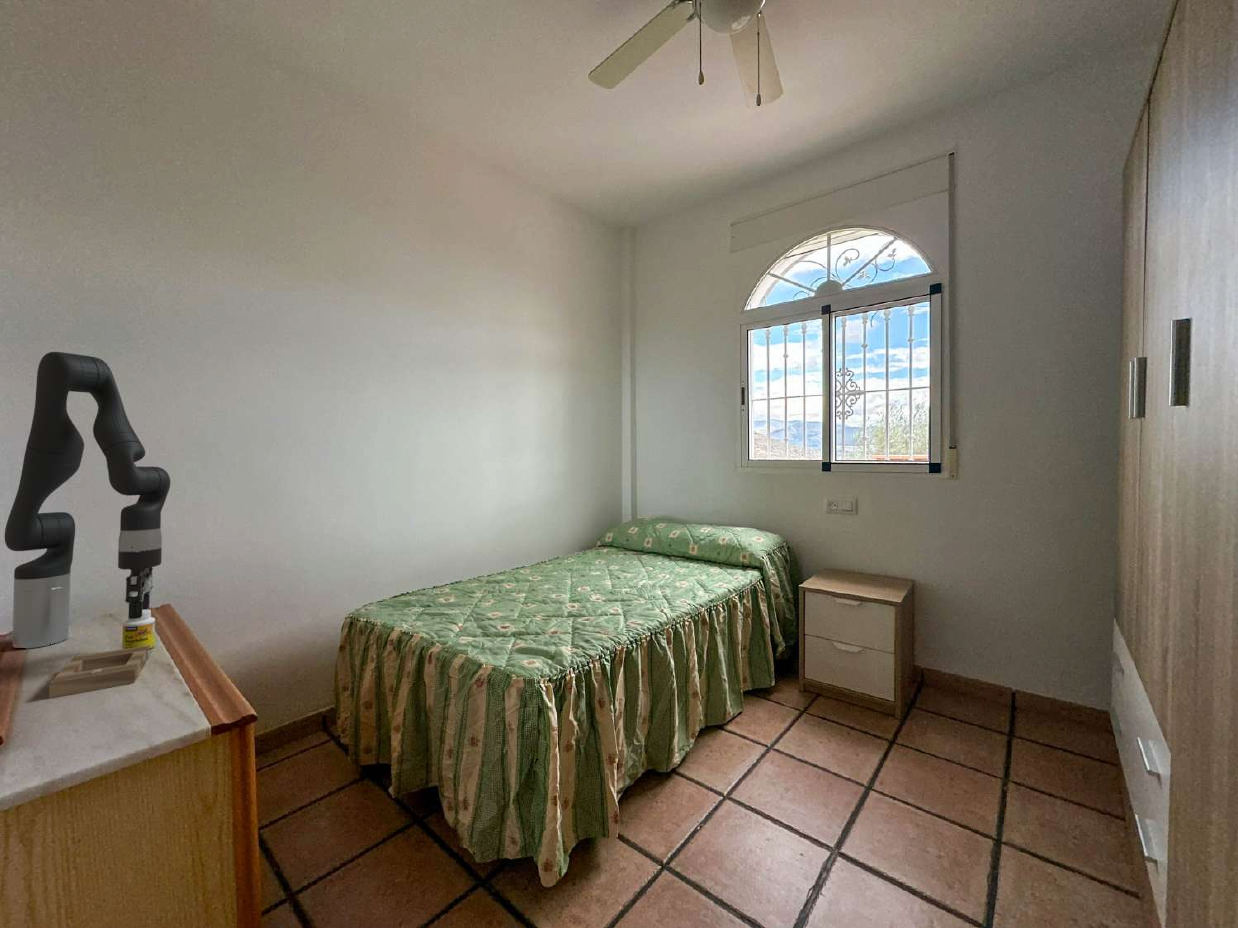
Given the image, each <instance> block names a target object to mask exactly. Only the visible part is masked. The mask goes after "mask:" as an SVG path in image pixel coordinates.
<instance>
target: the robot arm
mask: <svg viewBox="0 0 1238 928" xmlns="http://www.w3.org/2000/svg"><path fill="white" fill-rule="evenodd" d="M36 372H37V373H36V384H35V385H36V386H35V387H36V388H35V399H34V400H35V401H34V409H33V417H32V421H31V425H30V426H31V428H30V432H29V435H28V439H27V442H26V448H25V451H24V452H25V453H24V457H23V462H22V469H21V474H20V479H19V485H18V488H17V492H16V495H15V498H14V501H13V504H12V506H11V509H10V512H9V515H8V518H7V521H6V525H5V528H4V544H5V546H6V547H7V549H8V550H10V551H13V552H27V551H38V550H46V551H45V552H44V553H43V554H41V555H40V556H38V557H36V558H35V559H33V560H30V561H28V562H25V563H22V564H19V565H17V566H16V567H15V568H14V572H13V599H12V600H13V607H12V608H13V610H12V633H11V634H12V635H11V636H12V637H11V638H12V640H11V644H12V643H14V644H19V645H23V646H24V647H26V649H34V648H40V647H46V646H50V644H51V645H55V644H58V643H61V642H64V641H66V640H68V639H69V631H70V630H69V629H70V627H69V626H70V605H71V604H70V603H71V602H70V601H71V600H70V599H71V568H72V564H73V559H74V545H75V537H76V522H75V519H74V517H73V515H72V514H71V513H68V512H65V511H64V512H63V511H62V512H61V511H56V512H54V511H53V512H40V509H41V508H42V505H43V504H44V502H45V501H46V499H48V497H50V495H51V494H52V493H54V492H55V491H56V490H57V489H59V488H60V487H61V486H62V485H63V484H65V483H66V482H67V481H69V479H71V478H72V477H73V476H74V475H75V474H76V473H77V471H78V470H79V468H80V466H81V462H82V459H83V455H84V450H85V449H84V448H85V442H84V439H83V437H82V435H81V433H80V432H79V430H78V428H77V427H76V425H75V424H74V423H73V421H72V419H71V418H70V415H69V414H68V410H67V409H68V407H67V406H68V405H67V404H68V403H67V401H68V396H69V393H70V392H74V393H75V392H76V393H88V394H90V395H91V397H92V398H93V399H94V401H95V402H96V404H97V413H96V416H95V418H94V419H95V420H94V422H93V425H92V434H93V438H94V439H95V442H96V444H97V445H98V447H99V449H100V450H101V452H102V453H103V456H104V457H105V460H106V468H107V472H108V473H107V474H108V480H109V484H110V486H111V487H112V489H113V490H114V491H116V493H119V494H120V495H122V496H130V497H131V496H139V497H138V498H137V500H136V502H135V503H134V504H130V505H126V506H125V507H123V508H121V511H120V518H119V519H120V525H119V527H120V528H119V529H120V530H119V537H118V547H117V549H118V553H117V567H118V569H119V570H124V571H126V570H130V574H129V576H126V578H125V582H126V584H125V585H126V586H125V598H124V599H125V601H124V602H125V603H127V604H128V613H129V619H136V618H140V617H142V610H146V609H148V610H149V608H150V596H151V595H150V594H151V593H152V589H153V587H154V586H153V577H154V575H153V574H154V573H153V570H154V569H153V568H154V567H158V566H160V565H161V564H162V558H163V557H162V555H163V554H162V550H163V549H162V547H163V546H162V545H163V544H162V542H163V538H162V535H163V534H162V529H161V526H162V525H161V523H162V521H161V520H162V519H161V517H162V514H161V513H162V509H163V507H164V505H165V503H166V499H167V497H168V494H169V491H170V488H171V478H170V475H169V473H168V472H167V471H166V470H165V469H164V468H162V467H160V466H137V465H136V462H139V461H141V460H142V459H143V458H144V457H146V449H145V448H144V446H143V444H142V442H141V440H140V439H139V437H138V435H137V434H136V432H135V431H134V428H133V427H132V425H131V422H130V420H129V418H128V415H127V413H126V410H125V407H124V404H123V401H122V398H121V395H120V391H119V388H118V385H117V382H116V379H115V377H114V375H113V372H112V370H111V368H110V367H109V364H108V363H107V362H105V361H104V360H103V359H101V358H99V357H95V356H91V355H83V354H79V353H70V352H69V353H68V352H62V351H50V352H48V353H46V354H44V355H43V356H42V358H41V359H40V361H39V363H38V368H37V371H36ZM133 595H135V596H133ZM67 638H68V639H67ZM65 639H66V640H65ZM63 640H64V641H63ZM54 643H55V644H54Z"/></svg>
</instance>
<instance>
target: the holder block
mask: <svg viewBox="0 0 1238 928" xmlns="http://www.w3.org/2000/svg"><path fill="white" fill-rule="evenodd" d="M149 657H150V653H149V645H147V646H141V647H134V648H127V649H115V650H108V651H103V652H95V653H87V654H83V655H82V654H81V655H76V656H74V657H73V658H71V660H70V661H69V662H68V663H67V664H66V665H65V667H63V668H62V669H61V671H60V672H58V673H57V674H56V675H55V677H53V678H52V680H51V681H50V682H49V686H48V687H49V688H48V689H49V690H48V691H49V692H48V699H53V698H59V697H64V696H70V695H76V694H80V693H87V692H92V691H97V690H104V689H109V688H113V687H119V686H120V687H121V686H125V685H130V684H135V682H136V681H137V680H138V677H140V674H141V672H142V670H143V668H144V667H145V665H146V663H147V661H148V660H149Z"/></svg>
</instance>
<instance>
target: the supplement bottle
mask: <svg viewBox="0 0 1238 928" xmlns="http://www.w3.org/2000/svg"><path fill="white" fill-rule="evenodd" d="M155 629H156V618H155V617H154V616H153V617H152V611H151V609H149V608H148V609H145V610H142V617H140V618H136V619H129V612H128V614H127V620H125V621H124V622H123V624H122V647H121V648H122V649H127V648H134V647H141V646H147V645H149V654H150V653H152V652H153V651H154V649H155V637H156V636H155Z"/></svg>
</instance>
